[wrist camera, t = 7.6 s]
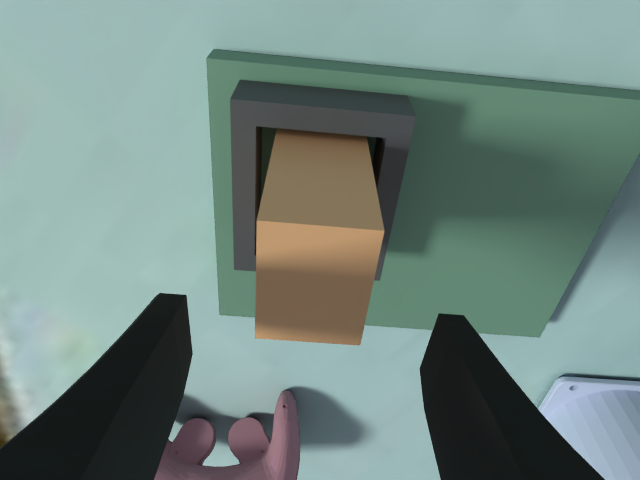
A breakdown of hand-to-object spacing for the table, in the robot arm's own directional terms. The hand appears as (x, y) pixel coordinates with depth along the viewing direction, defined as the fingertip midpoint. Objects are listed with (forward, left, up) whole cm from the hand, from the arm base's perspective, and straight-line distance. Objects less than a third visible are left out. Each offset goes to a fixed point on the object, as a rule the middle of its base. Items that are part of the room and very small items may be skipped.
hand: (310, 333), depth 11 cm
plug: (0, 0, -8) cm, 8 cm away
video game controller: (+4, +18, -10) cm, 21 cm away
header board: (-4, +2, -9) cm, 10 cm away
